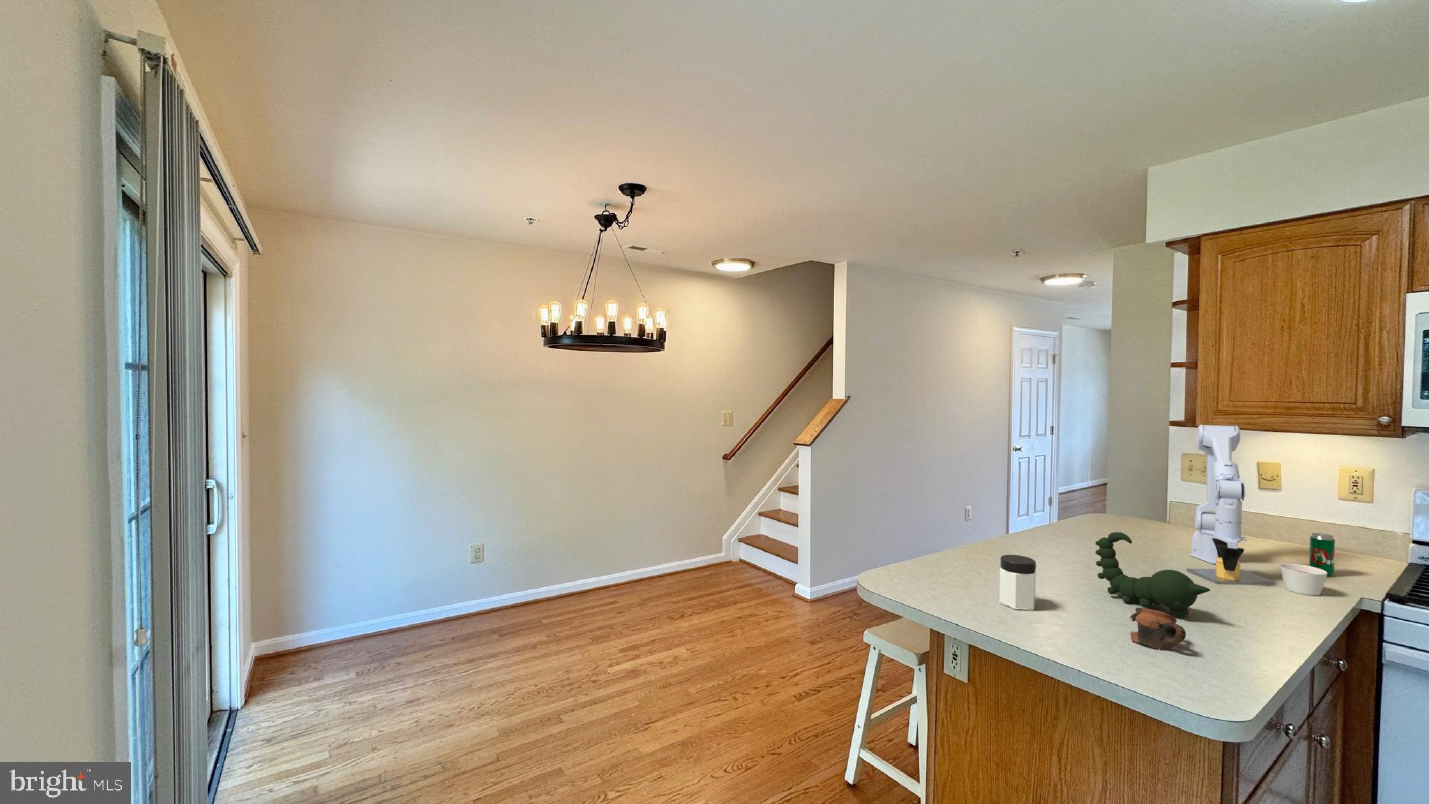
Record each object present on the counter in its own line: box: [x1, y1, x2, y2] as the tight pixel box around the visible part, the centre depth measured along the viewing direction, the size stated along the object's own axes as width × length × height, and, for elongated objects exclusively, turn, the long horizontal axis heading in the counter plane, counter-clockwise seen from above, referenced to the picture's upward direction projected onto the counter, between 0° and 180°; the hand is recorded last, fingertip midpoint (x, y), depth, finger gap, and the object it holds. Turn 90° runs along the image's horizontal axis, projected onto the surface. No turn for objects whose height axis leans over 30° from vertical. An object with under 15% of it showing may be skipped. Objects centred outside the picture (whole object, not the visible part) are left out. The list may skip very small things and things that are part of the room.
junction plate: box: [1185, 568, 1276, 586], centre depth 165 cm, size 11×16×4 cm
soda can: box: [1308, 532, 1336, 578], centre depth 168 cm, size 5×5×12 cm
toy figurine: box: [1094, 531, 1211, 618], centre depth 143 cm, size 9×19×25 cm
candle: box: [1279, 563, 1327, 596], centre depth 154 cm, size 9×9×6 cm
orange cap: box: [1215, 557, 1241, 580], centre depth 163 cm, size 5×5×5 cm
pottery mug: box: [1129, 607, 1187, 650], centre depth 124 cm, size 12×10×8 cm
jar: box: [999, 554, 1037, 610], centre depth 146 cm, size 9×8×12 cm
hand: (1226, 567), depth 164 cm, fingers open, 6 cm apart
